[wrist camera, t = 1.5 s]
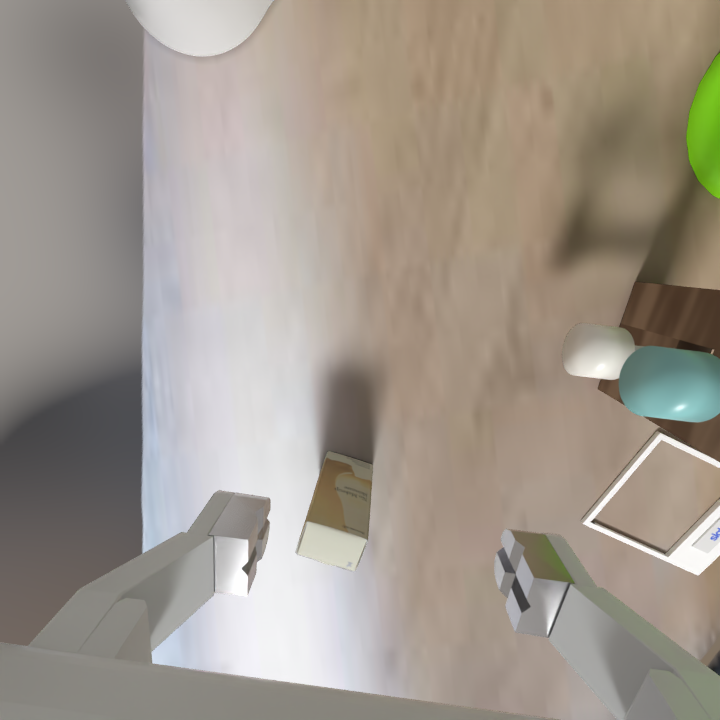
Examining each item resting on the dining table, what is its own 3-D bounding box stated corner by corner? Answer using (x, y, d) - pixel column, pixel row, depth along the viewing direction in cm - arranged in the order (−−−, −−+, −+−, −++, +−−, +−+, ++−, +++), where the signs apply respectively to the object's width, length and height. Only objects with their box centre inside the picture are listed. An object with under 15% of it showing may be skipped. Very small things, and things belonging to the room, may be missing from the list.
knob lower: (556, 365, 31) (584, 383, 27) (571, 318, 30) (602, 328, 26) (695, 383, 31) (746, 403, 27) (716, 336, 30) (772, 349, 25)
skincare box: (373, 463, 43) (372, 540, 31) (363, 490, 44) (358, 575, 32) (325, 448, 43) (305, 521, 31) (316, 476, 44) (294, 556, 32)
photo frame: (699, 576, 45) (583, 524, 43) (692, 569, 46) (578, 518, 44) (786, 494, 41) (661, 433, 39) (776, 488, 42) (653, 429, 40)
